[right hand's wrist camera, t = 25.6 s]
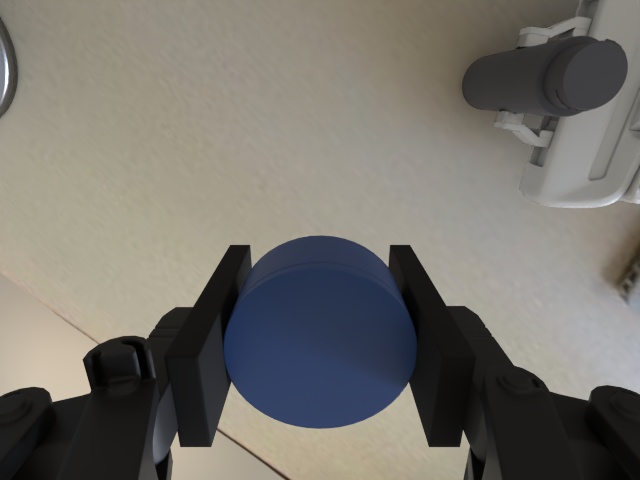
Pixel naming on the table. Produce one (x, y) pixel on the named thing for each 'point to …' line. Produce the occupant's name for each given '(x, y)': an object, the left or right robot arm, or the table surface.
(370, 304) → the lid
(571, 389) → the table surface
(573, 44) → the jar
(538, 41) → the left robot arm
